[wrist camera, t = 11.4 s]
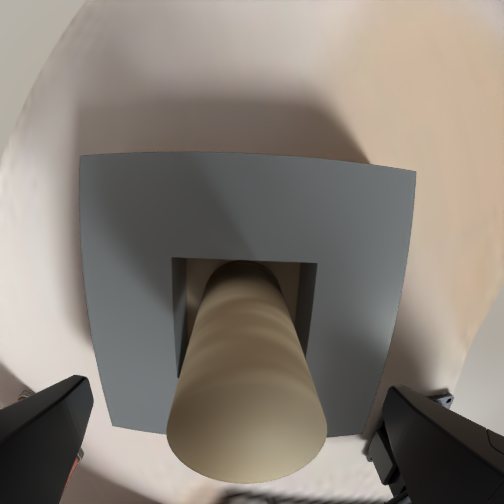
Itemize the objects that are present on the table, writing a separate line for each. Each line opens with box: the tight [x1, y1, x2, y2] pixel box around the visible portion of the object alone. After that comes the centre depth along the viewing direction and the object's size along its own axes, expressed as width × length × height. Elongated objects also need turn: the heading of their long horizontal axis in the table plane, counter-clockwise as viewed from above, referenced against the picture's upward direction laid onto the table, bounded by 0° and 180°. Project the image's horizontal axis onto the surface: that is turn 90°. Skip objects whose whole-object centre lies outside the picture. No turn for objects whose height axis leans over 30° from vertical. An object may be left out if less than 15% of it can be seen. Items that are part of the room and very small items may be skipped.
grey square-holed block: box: [79, 152, 416, 437], centre depth 15 cm, size 14×14×4 cm
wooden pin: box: [166, 260, 327, 484], centre depth 12 cm, size 4×4×10 cm
